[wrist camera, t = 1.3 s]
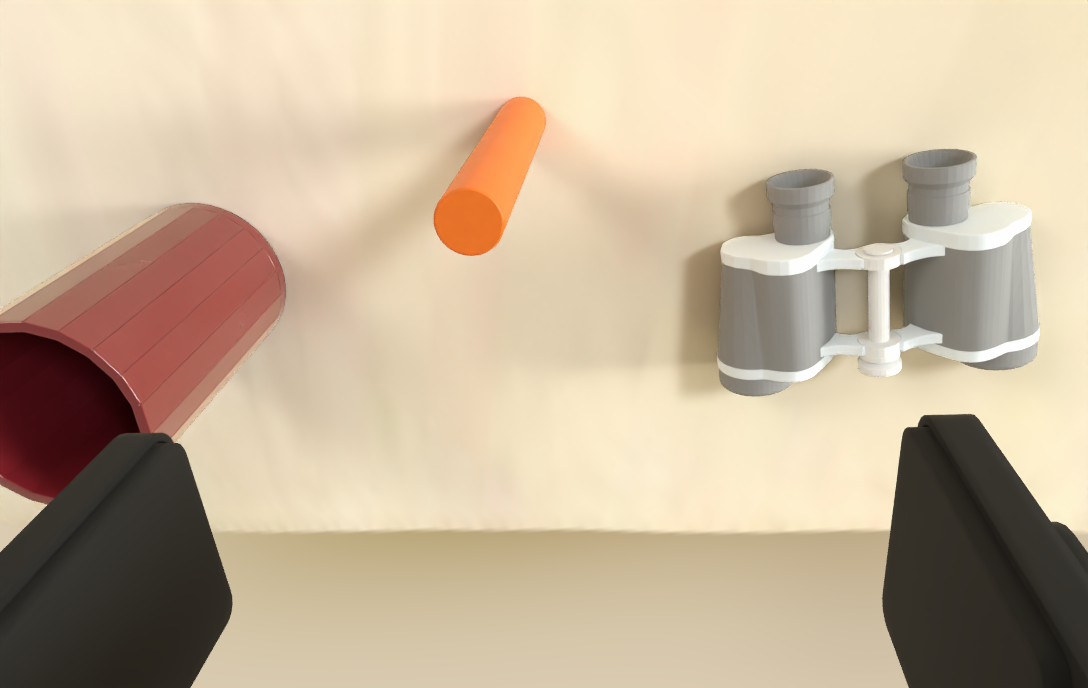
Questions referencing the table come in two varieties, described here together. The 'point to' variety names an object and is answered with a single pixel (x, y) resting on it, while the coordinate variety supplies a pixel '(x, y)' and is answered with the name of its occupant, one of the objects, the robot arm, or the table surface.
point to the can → (130, 341)
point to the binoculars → (879, 282)
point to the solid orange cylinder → (490, 180)
